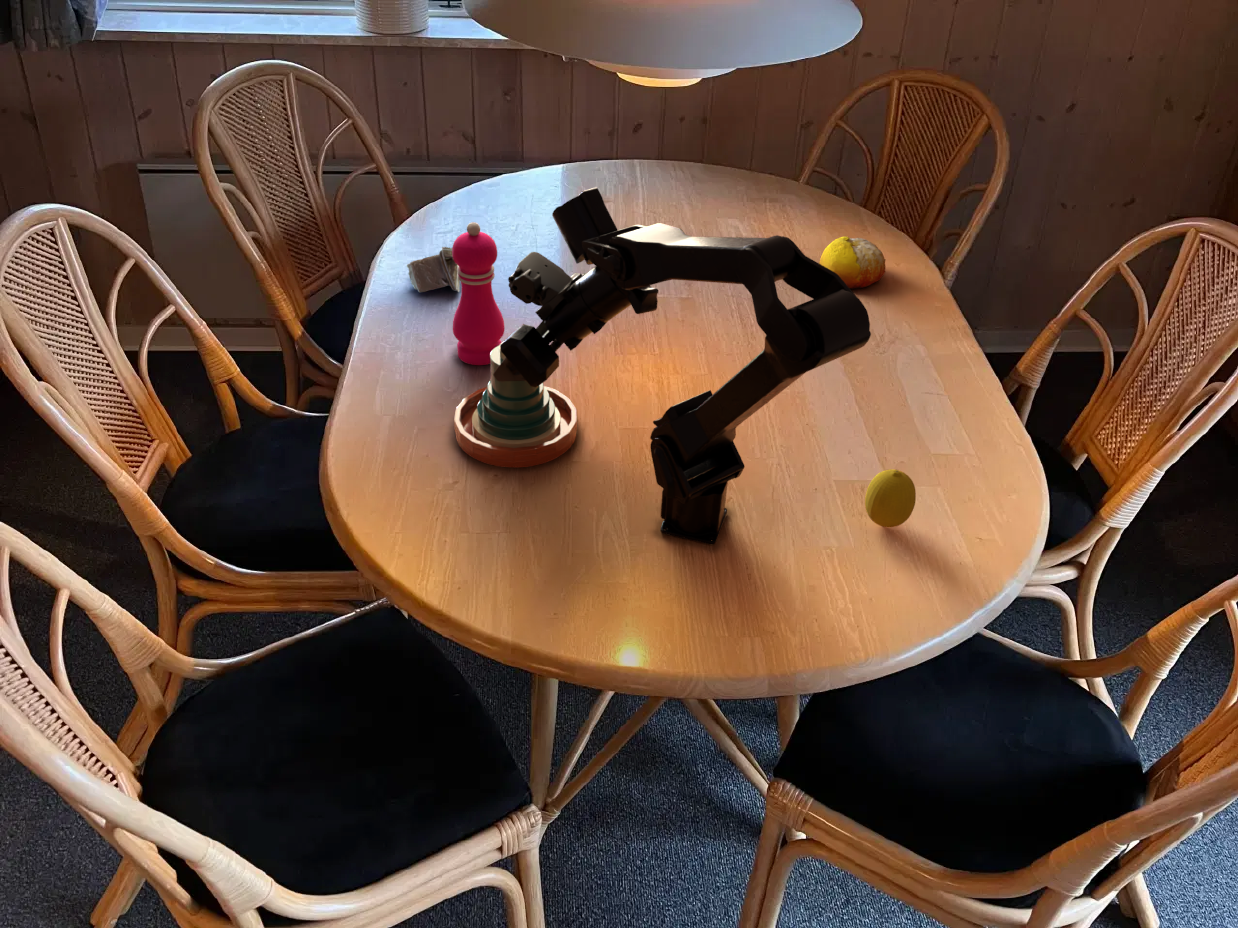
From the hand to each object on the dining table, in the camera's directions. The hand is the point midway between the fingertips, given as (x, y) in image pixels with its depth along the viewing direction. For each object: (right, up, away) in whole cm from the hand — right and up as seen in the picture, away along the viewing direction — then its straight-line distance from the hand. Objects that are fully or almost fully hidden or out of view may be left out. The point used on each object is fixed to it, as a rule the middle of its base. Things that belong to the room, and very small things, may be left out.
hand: (513, 359), depth 128 cm
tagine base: (0, -9, +6) cm, 11 cm away
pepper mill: (-7, +3, +22) cm, 23 cm away
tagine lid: (0, -8, +6) cm, 10 cm away
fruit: (+51, +18, +45) cm, 70 cm away
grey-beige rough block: (-16, +30, +46) cm, 57 cm away
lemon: (+44, -20, -6) cm, 48 cm away
